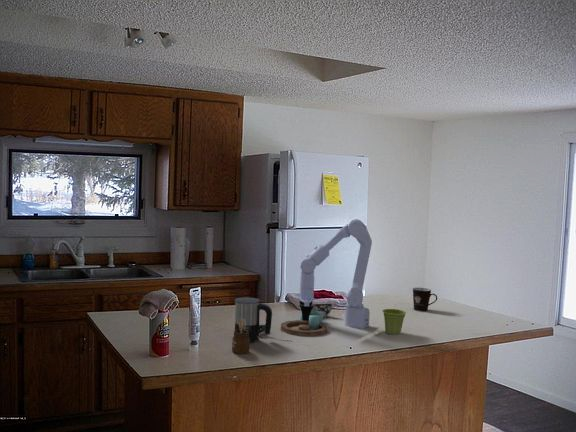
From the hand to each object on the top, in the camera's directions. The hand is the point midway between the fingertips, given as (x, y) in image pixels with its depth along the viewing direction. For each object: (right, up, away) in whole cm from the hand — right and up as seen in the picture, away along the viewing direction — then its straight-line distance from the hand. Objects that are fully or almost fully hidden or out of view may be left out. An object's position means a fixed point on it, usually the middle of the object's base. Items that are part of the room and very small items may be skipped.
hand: (305, 320), depth 253 cm
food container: (+1, +1, +17) cm, 18 cm away
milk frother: (-21, -2, -25) cm, 33 cm away
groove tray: (-1, -2, -14) cm, 15 cm away
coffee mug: (+57, -2, +37) cm, 68 cm away
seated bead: (+3, -1, -12) cm, 13 cm away
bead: (0, -1, 0) cm, 2 cm away
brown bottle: (-23, -3, -45) cm, 51 cm away
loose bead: (+5, -2, 0) cm, 5 cm away
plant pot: (+35, -4, -8) cm, 36 cm away
